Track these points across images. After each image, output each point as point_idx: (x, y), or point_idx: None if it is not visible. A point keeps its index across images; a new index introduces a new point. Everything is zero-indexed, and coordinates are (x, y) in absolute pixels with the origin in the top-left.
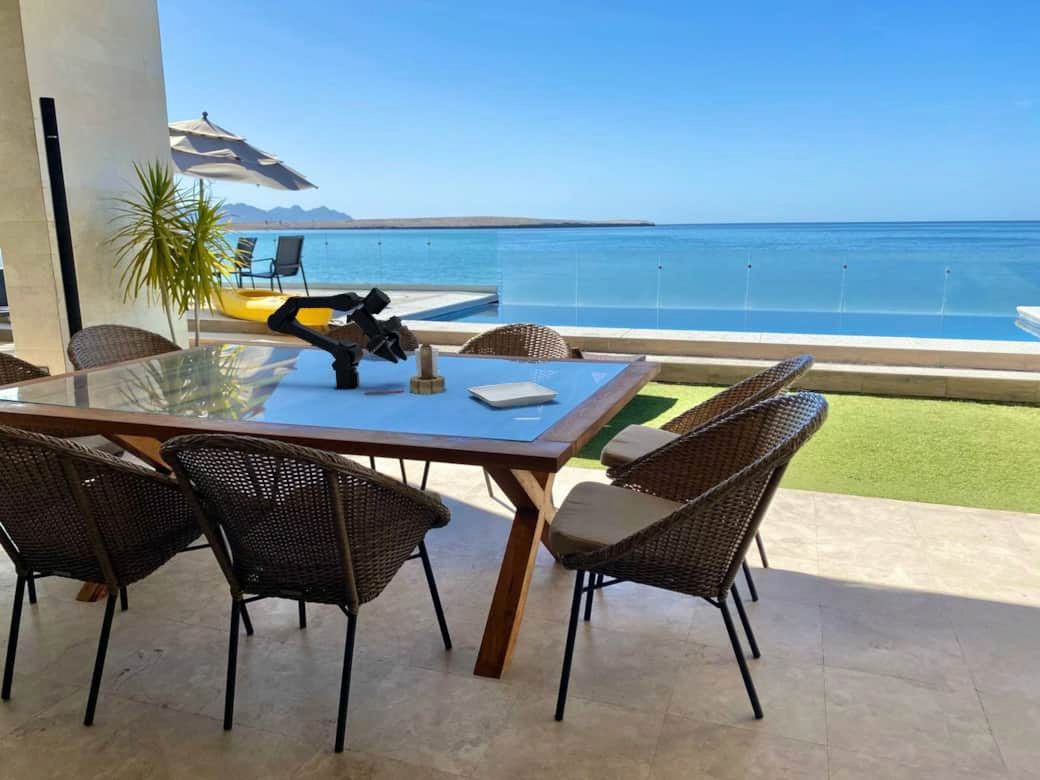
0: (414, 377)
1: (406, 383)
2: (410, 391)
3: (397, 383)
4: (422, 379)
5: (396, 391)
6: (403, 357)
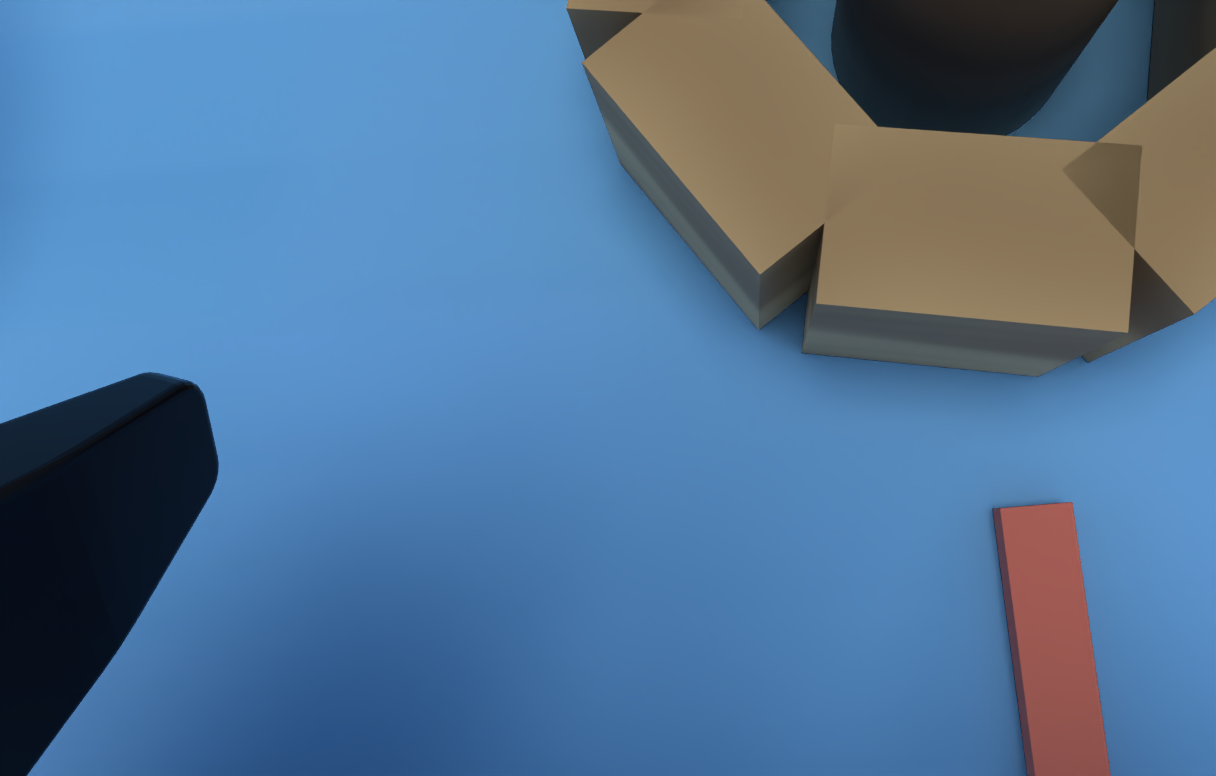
0: (873, 227)
1: None
2: (1038, 373)
3: (128, 692)
4: (1099, 12)
5: (1093, 672)
6: (119, 534)
